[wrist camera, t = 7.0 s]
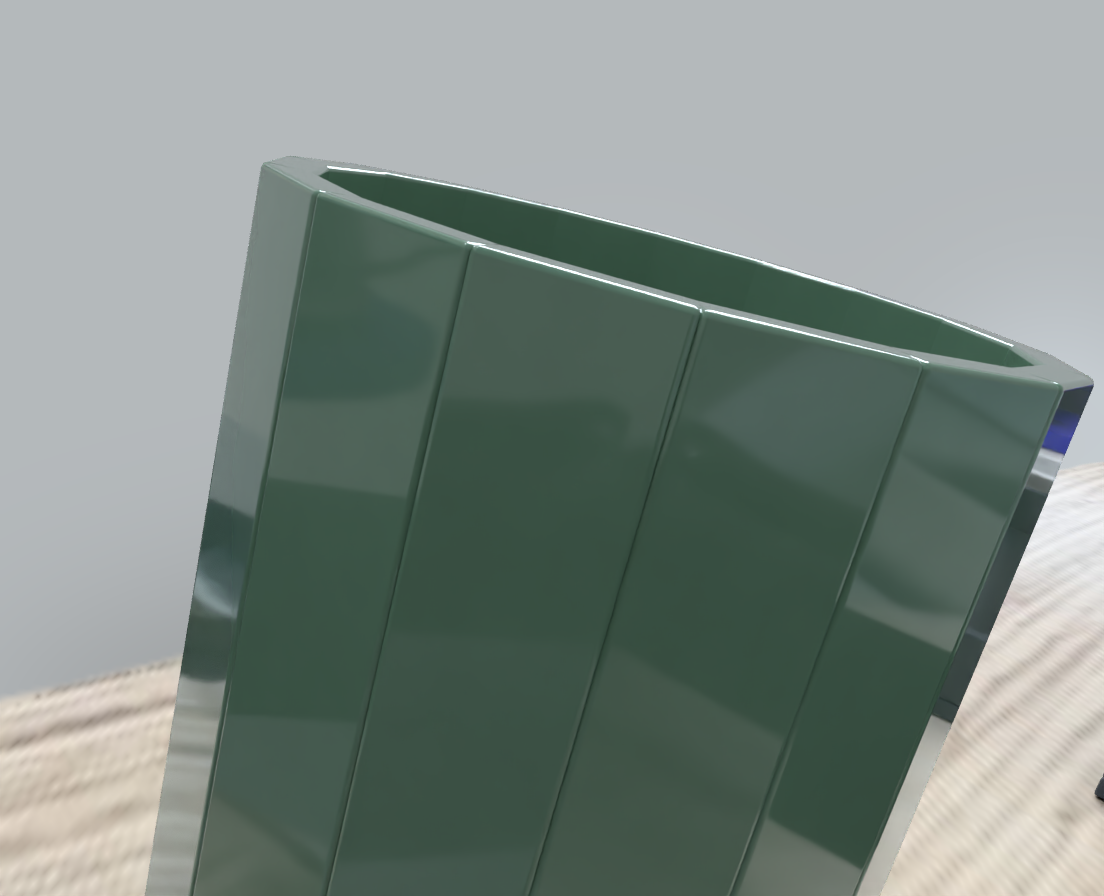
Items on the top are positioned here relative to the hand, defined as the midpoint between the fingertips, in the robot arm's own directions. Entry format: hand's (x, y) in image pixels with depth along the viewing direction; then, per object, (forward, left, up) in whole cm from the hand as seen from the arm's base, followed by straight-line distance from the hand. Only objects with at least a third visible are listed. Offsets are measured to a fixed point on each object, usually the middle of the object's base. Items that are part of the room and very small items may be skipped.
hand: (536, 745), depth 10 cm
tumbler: (0, 0, -6) cm, 6 cm away
